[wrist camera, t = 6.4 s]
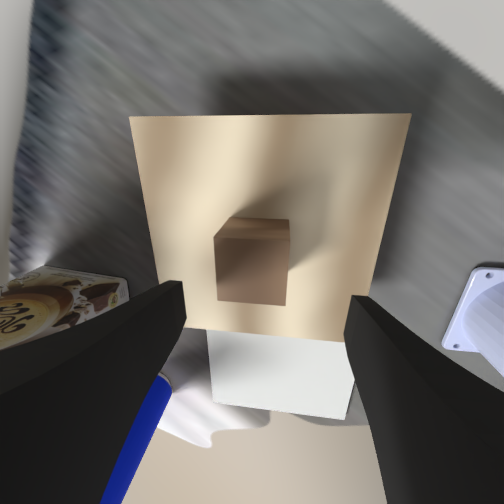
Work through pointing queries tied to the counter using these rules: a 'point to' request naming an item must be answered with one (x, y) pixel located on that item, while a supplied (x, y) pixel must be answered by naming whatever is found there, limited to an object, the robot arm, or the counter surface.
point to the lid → (269, 214)
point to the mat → (280, 373)
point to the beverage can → (137, 440)
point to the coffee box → (54, 302)
